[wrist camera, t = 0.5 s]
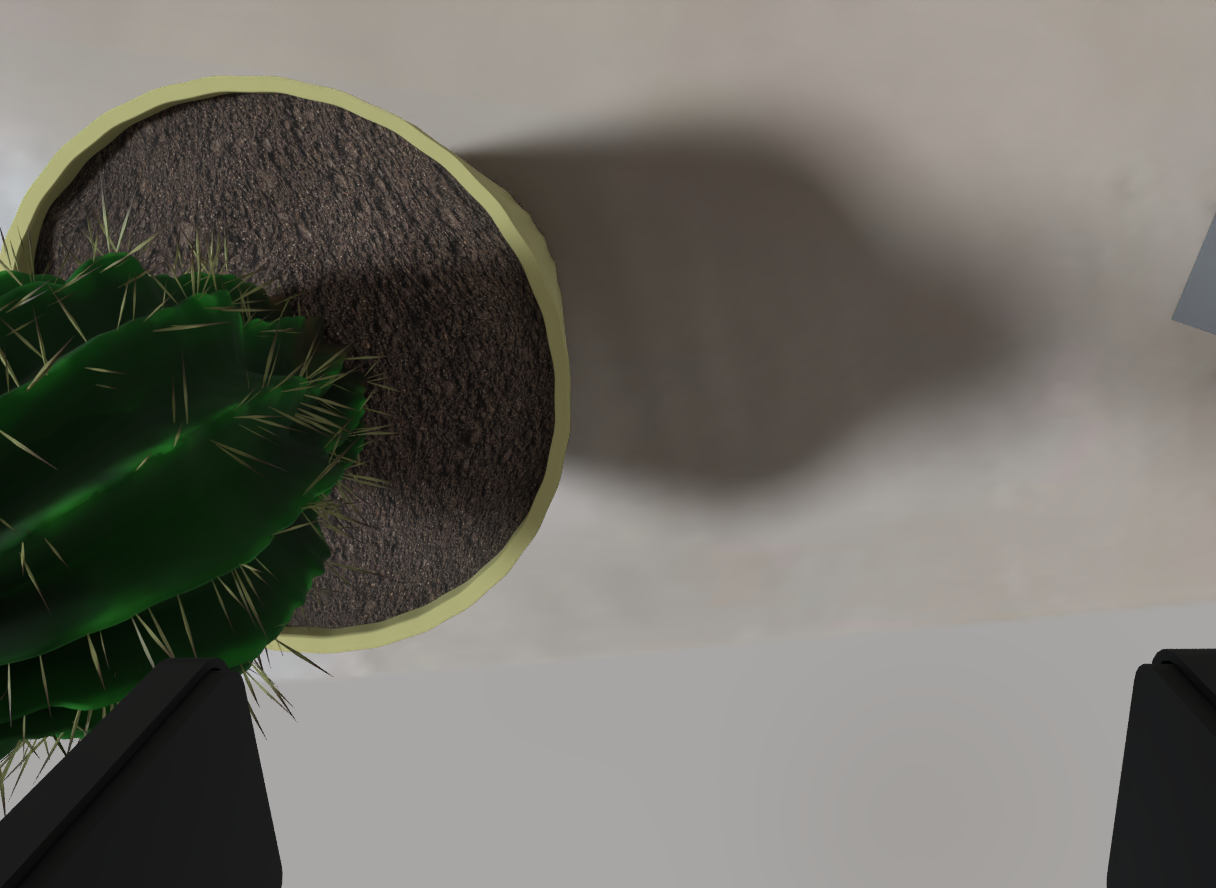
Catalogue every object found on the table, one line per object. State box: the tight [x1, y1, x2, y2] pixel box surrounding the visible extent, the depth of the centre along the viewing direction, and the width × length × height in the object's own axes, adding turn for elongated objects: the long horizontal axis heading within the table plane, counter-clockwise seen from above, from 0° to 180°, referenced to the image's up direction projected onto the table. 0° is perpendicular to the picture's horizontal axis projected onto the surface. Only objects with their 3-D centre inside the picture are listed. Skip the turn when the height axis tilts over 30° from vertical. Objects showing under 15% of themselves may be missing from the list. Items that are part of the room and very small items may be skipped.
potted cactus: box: [0, 76, 571, 816], centre depth 24 cm, size 15×15×30 cm
